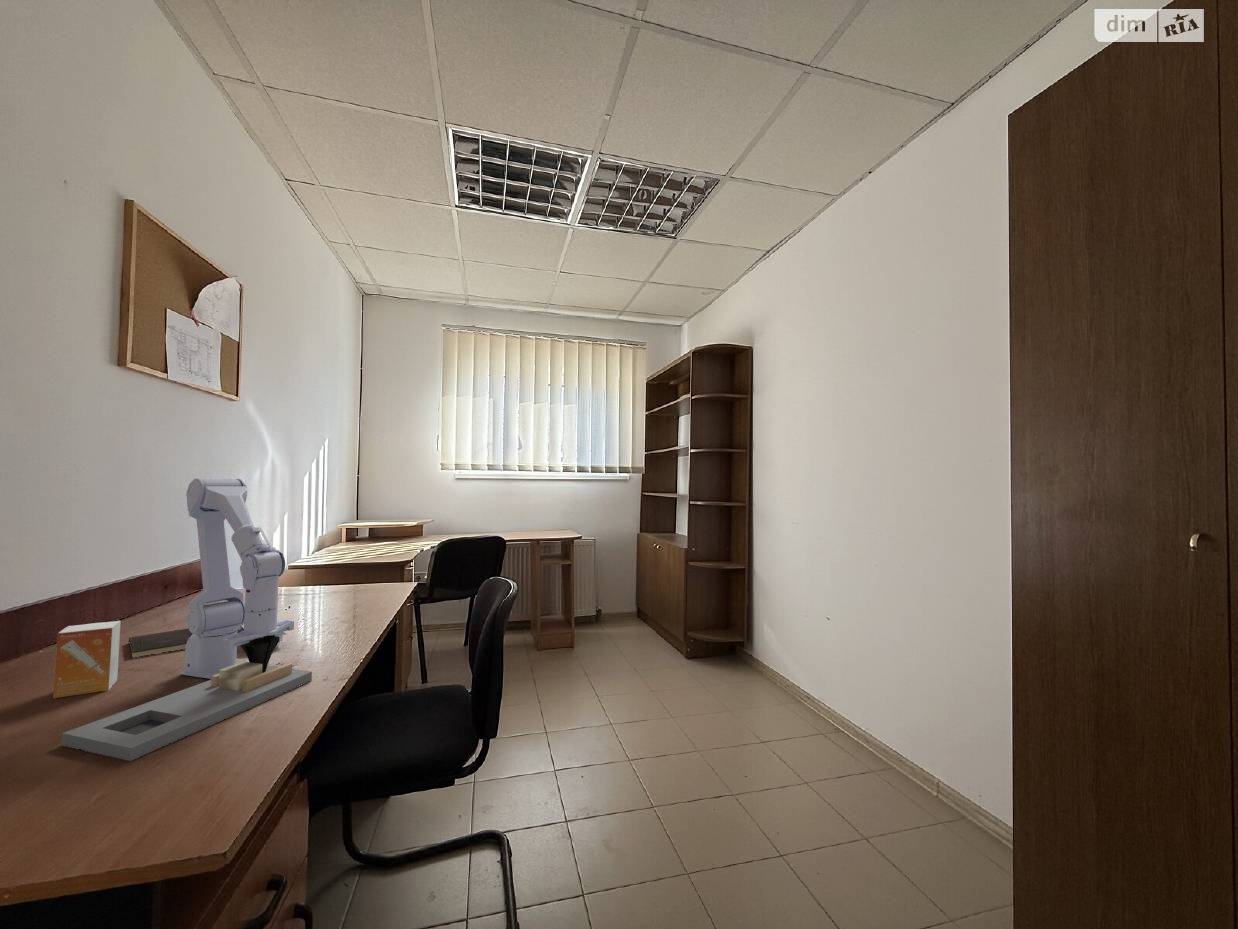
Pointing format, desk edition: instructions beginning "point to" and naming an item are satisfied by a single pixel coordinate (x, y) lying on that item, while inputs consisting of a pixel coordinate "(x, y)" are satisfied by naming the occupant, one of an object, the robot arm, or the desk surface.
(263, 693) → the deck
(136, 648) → the hardcover book
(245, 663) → the wooden block
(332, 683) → the desk surface
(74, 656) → the small box
